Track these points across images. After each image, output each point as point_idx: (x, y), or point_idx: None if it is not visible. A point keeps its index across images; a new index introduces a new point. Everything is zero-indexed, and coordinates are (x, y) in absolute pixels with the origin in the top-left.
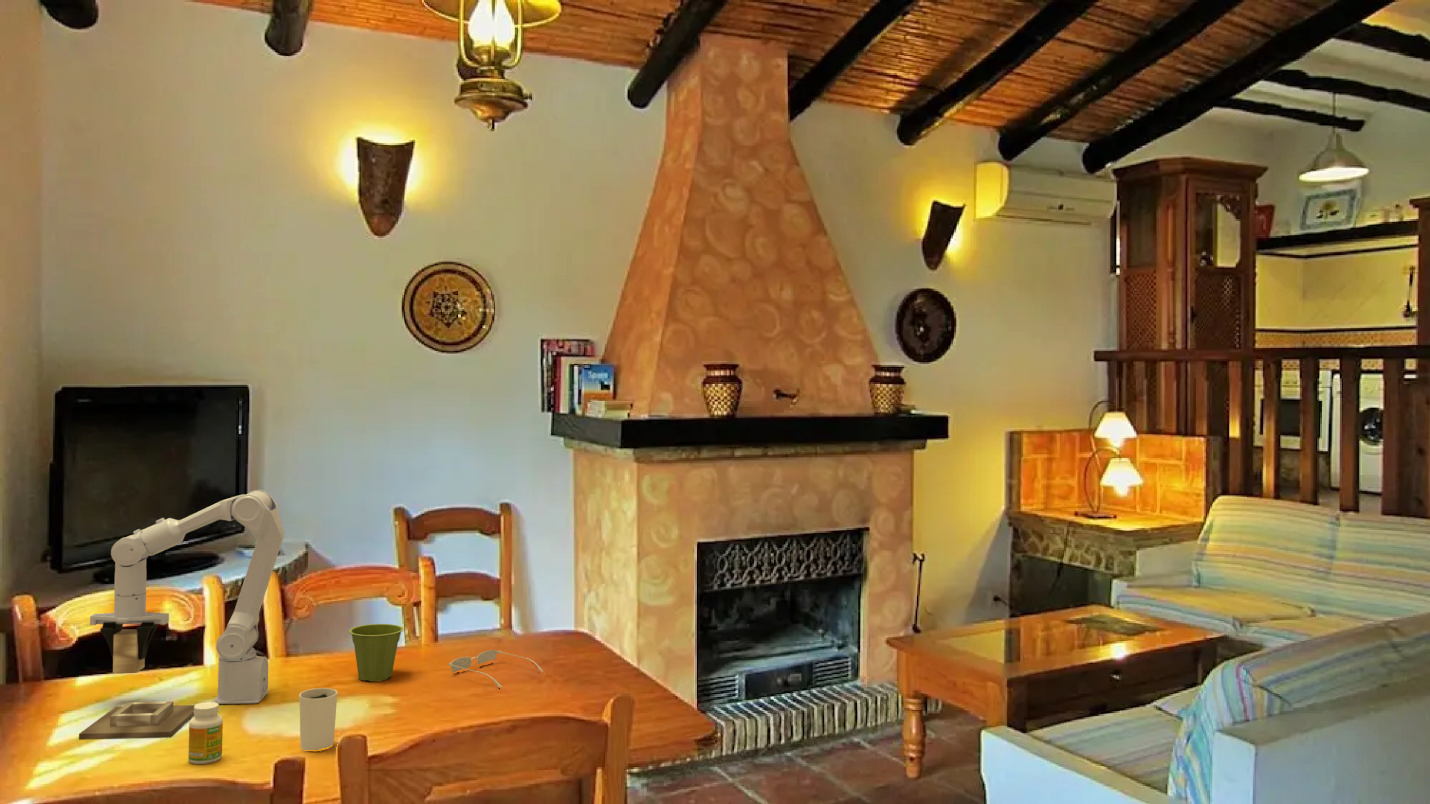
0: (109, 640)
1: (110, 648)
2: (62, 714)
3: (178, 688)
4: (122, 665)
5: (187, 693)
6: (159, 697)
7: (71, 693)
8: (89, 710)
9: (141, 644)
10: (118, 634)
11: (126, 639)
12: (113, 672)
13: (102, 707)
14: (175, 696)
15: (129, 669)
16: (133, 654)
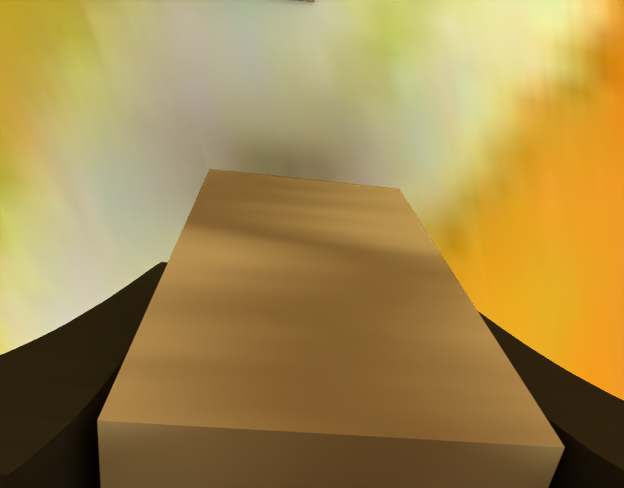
0: (577, 397)
1: (508, 335)
2: (603, 5)
3: None
4: (328, 203)
5: (27, 292)
6: (151, 245)
7: (588, 363)
8: (467, 60)
9: (96, 333)
10: (477, 461)
11: (307, 363)
12: (396, 191)
13: (407, 108)
14: (70, 250)
15: (264, 187)
16: (213, 239)
